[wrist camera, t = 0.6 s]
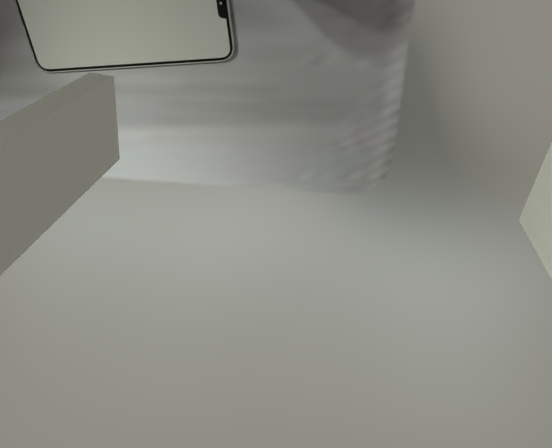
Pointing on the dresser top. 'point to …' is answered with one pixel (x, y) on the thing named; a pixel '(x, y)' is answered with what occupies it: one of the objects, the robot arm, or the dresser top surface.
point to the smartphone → (126, 33)
